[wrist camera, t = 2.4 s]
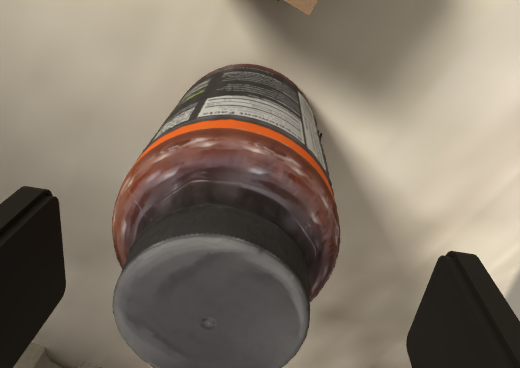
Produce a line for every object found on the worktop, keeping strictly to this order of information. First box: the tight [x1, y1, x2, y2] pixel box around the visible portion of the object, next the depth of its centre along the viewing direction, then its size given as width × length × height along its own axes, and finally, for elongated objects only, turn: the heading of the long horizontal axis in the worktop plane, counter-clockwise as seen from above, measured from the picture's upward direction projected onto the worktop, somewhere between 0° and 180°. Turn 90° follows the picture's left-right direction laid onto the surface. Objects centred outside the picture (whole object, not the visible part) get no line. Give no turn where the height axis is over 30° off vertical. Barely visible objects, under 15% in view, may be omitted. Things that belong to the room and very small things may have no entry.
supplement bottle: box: [112, 64, 340, 368], centre depth 14 cm, size 6×6×11 cm
